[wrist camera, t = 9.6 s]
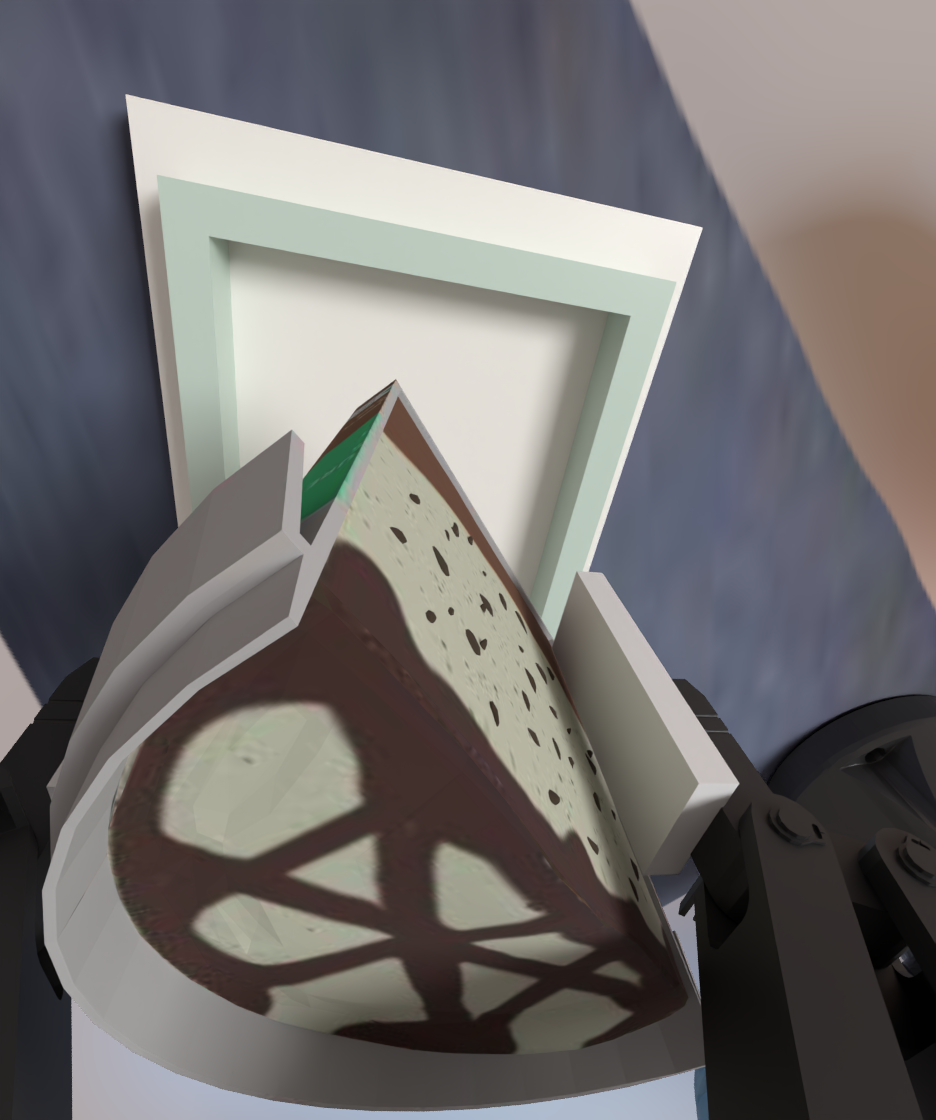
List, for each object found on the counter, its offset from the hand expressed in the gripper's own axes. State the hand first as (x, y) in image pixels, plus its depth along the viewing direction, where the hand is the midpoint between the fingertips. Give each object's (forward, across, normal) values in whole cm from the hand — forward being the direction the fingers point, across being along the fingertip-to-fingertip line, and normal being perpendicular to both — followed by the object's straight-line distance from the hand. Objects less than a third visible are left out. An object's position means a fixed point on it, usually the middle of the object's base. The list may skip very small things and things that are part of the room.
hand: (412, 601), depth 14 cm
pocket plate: (+10, 0, 0) cm, 10 cm away
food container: (+1, 0, 0) cm, 2 cm away
